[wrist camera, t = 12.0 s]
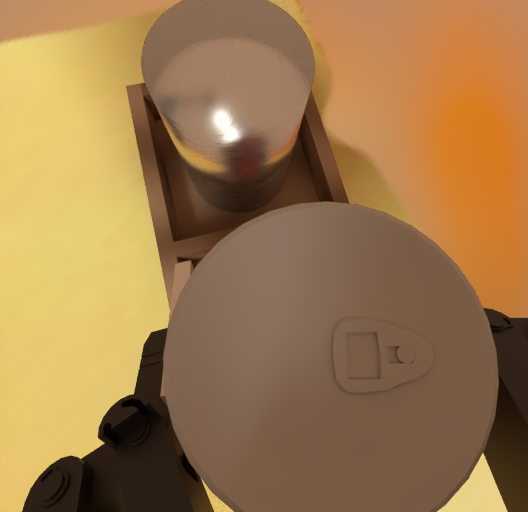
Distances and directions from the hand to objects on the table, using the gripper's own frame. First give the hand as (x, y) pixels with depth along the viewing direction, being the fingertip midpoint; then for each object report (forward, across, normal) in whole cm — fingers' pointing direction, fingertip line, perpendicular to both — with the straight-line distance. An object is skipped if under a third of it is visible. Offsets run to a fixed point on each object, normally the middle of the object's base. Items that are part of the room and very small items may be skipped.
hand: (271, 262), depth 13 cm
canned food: (0, 0, -5) cm, 5 cm away
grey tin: (+10, 0, +2) cm, 11 cm away
